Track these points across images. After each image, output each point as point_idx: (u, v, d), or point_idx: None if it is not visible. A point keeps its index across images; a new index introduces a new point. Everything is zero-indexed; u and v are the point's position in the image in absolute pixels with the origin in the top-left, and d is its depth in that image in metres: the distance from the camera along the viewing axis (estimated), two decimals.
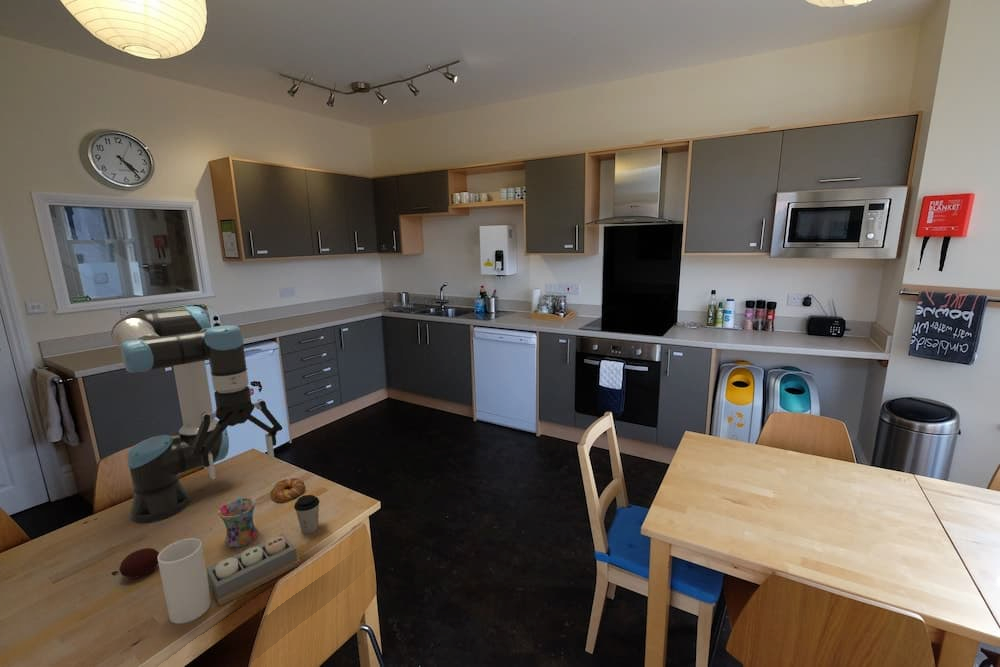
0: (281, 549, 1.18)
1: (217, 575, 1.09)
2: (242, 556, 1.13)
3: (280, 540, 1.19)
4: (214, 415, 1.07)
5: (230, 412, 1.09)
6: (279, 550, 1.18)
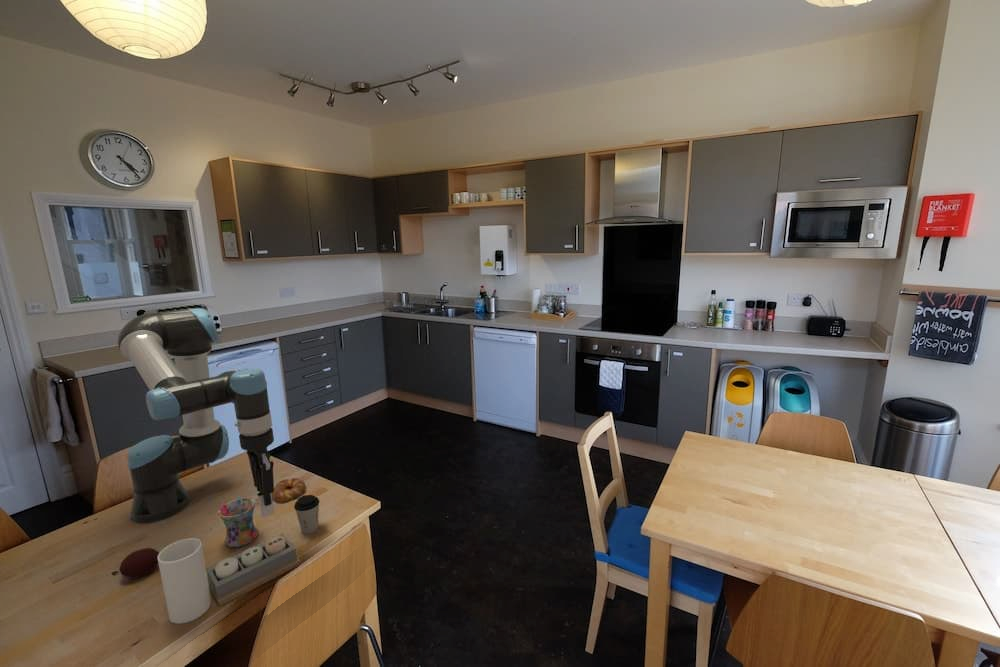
0: (281, 549, 1.18)
1: (217, 575, 1.09)
2: (242, 556, 1.13)
3: (280, 540, 1.19)
4: None
5: None
6: (279, 550, 1.18)
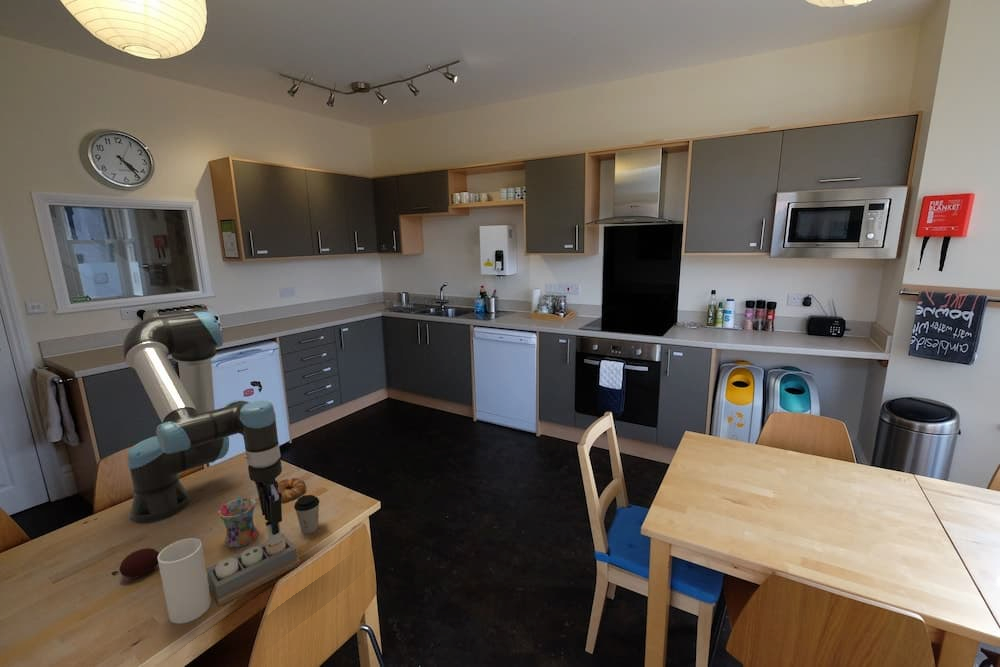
0: (281, 550, 1.18)
1: (217, 575, 1.09)
2: (242, 556, 1.13)
3: None
4: None
5: None
6: (279, 551, 1.18)
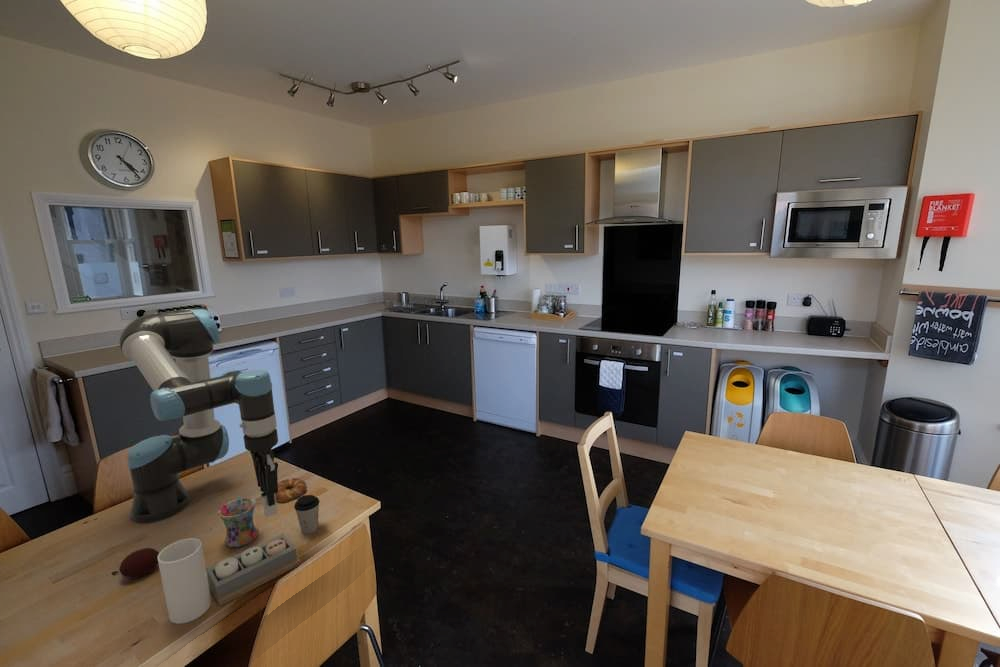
0: None
1: (217, 575, 1.09)
2: (242, 556, 1.13)
3: (280, 544, 1.19)
4: None
5: None
6: None
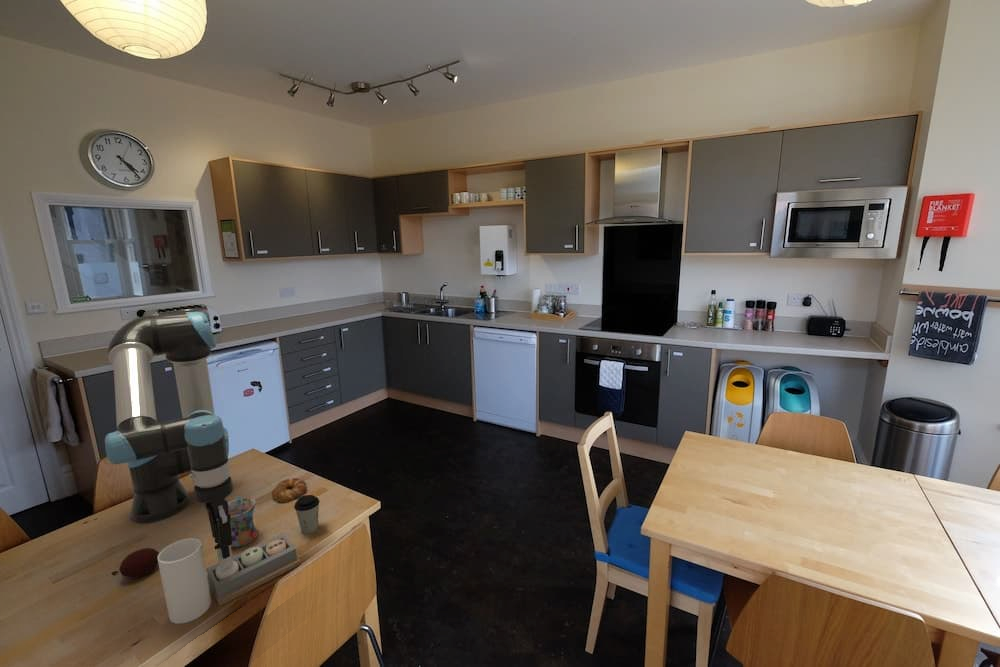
0: None
1: (217, 578, 1.09)
2: (242, 556, 1.13)
3: (280, 544, 1.19)
4: None
5: None
6: None
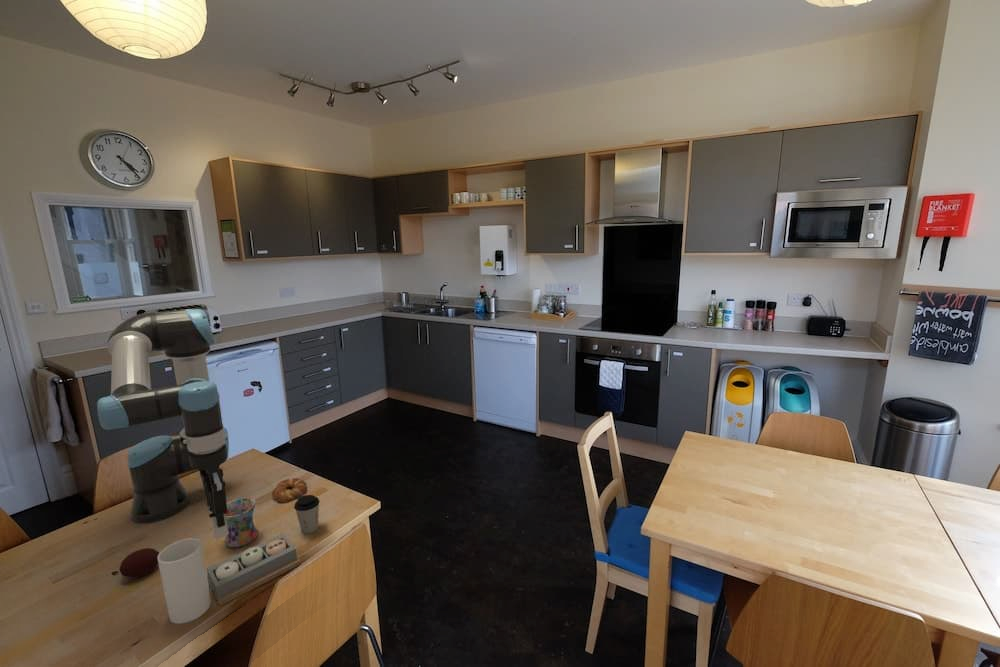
0: None
1: (218, 579, 1.09)
2: (242, 556, 1.13)
3: (280, 544, 1.19)
4: None
5: None
6: None
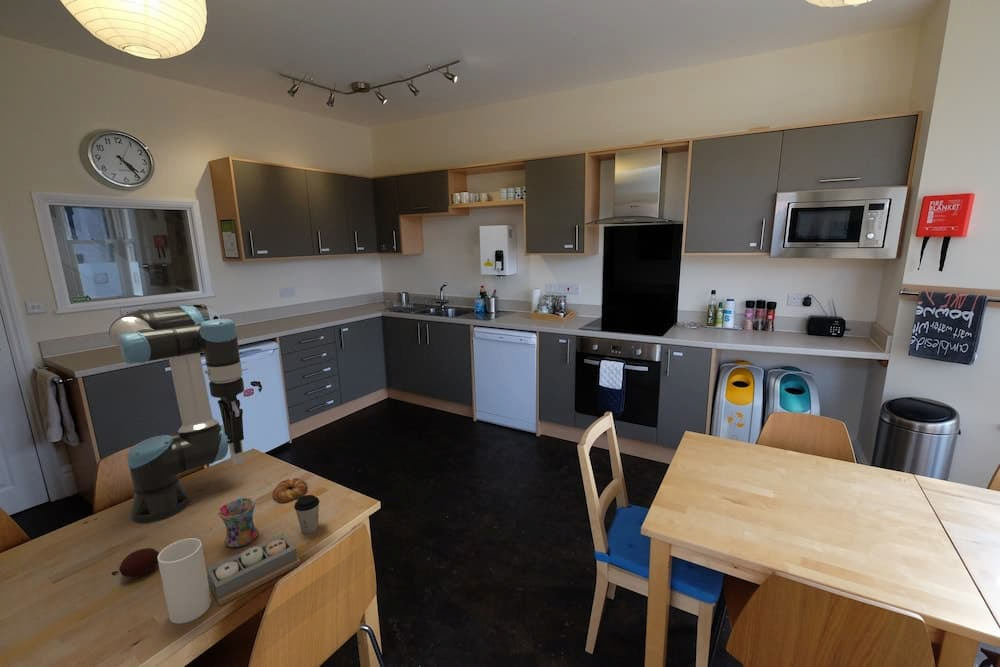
0: None
1: (218, 579, 1.09)
2: (242, 556, 1.13)
3: (280, 544, 1.19)
4: None
5: None
6: None
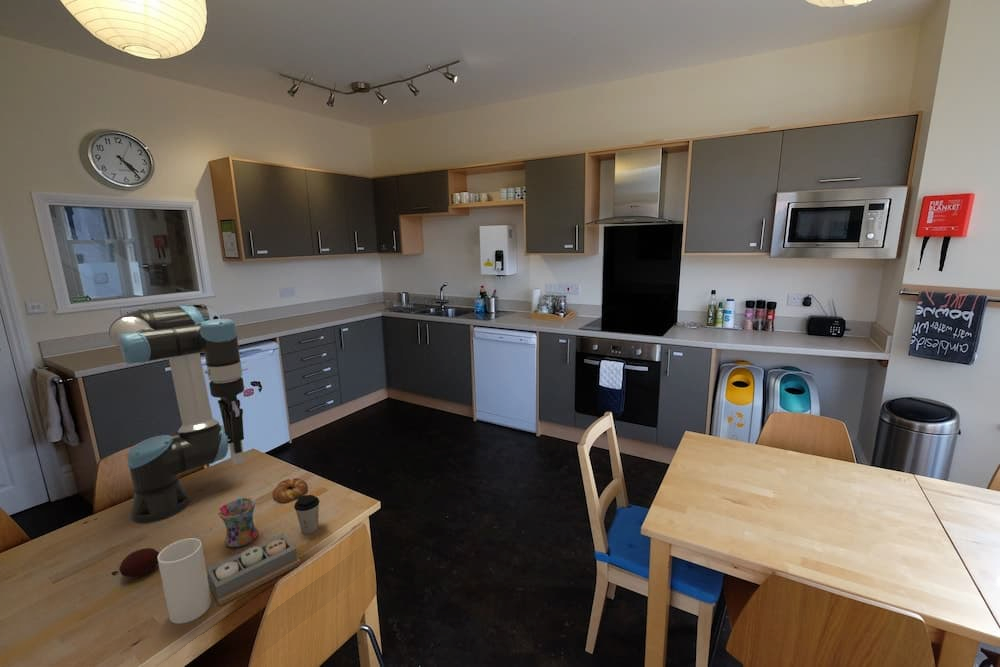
0: None
1: (218, 579, 1.09)
2: (242, 556, 1.13)
3: (280, 544, 1.19)
4: None
5: None
6: None
